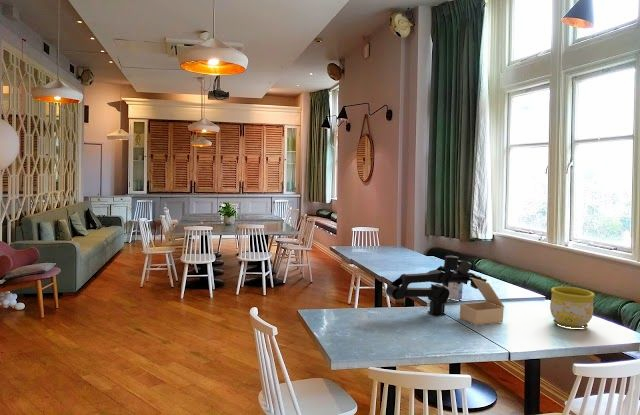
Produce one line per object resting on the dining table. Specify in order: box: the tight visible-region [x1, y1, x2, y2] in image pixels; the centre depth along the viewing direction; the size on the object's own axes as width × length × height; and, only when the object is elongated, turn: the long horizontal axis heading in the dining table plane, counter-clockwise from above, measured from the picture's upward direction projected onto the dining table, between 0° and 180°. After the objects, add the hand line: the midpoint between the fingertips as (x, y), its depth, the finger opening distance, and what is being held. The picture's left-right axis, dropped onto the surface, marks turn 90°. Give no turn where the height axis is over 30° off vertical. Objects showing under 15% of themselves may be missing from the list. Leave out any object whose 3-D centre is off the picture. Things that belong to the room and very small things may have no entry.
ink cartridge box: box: [441, 283, 464, 300], centre depth 270 cm, size 10×6×14 cm, turn 53°
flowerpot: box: [549, 286, 596, 329], centre depth 229 cm, size 18×18×16 cm
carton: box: [459, 300, 505, 326], centre depth 234 cm, size 16×12×7 cm
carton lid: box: [471, 278, 505, 308], centre depth 235 cm, size 16×12×1 cm
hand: (480, 277), depth 251 cm, fingers open, 9 cm apart
